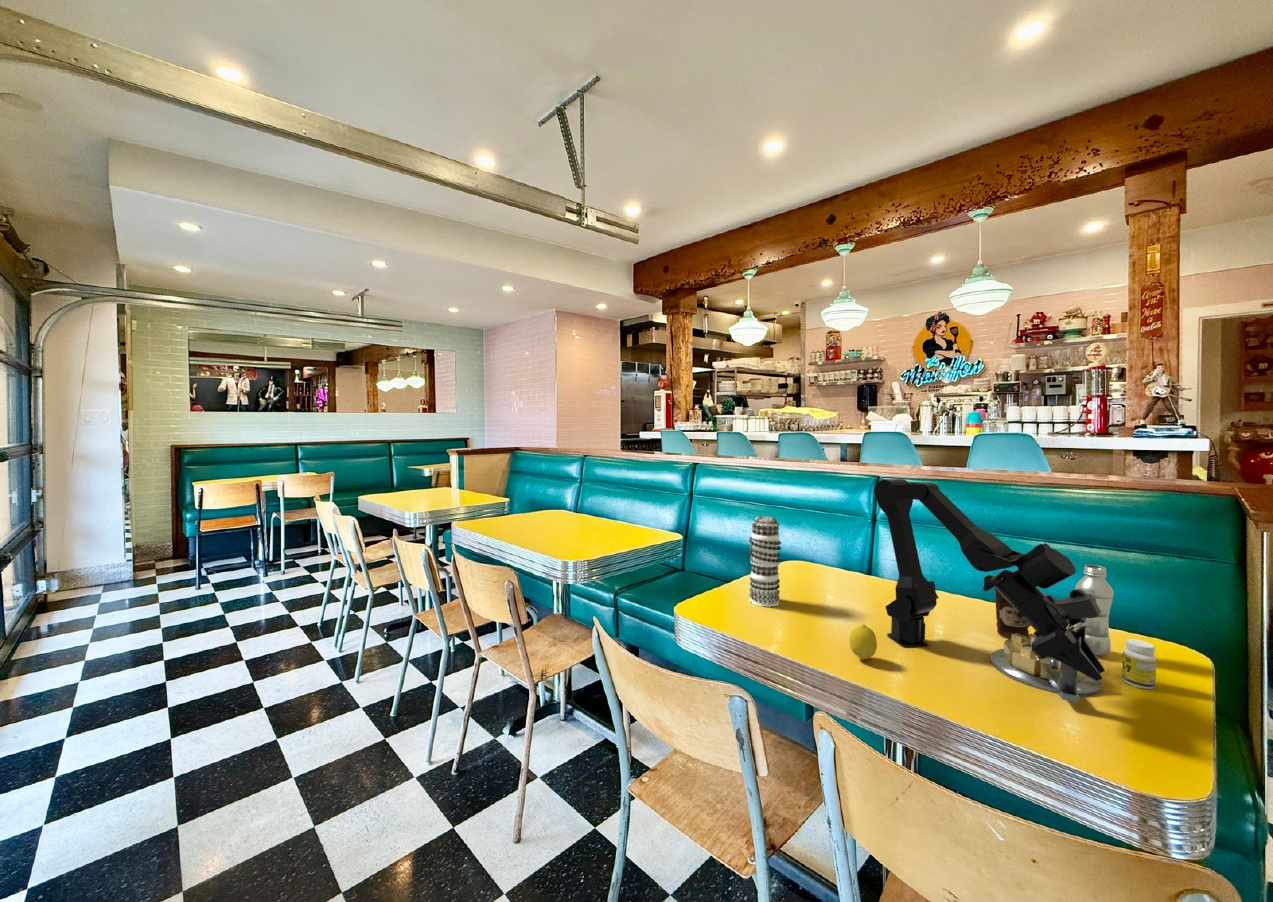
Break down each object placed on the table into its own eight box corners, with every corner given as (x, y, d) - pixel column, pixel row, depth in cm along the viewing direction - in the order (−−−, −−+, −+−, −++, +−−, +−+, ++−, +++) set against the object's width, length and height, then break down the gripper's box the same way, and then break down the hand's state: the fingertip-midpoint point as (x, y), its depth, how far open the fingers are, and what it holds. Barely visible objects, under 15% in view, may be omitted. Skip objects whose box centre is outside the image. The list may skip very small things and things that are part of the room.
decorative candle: (744, 603, 144) (744, 518, 143) (754, 594, 152) (755, 514, 151) (775, 609, 139) (776, 522, 138) (784, 599, 147) (785, 516, 146)
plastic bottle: (1100, 648, 115) (1104, 564, 114) (1117, 661, 109) (1122, 572, 108) (1066, 644, 117) (1070, 561, 116) (1081, 657, 111) (1085, 569, 110)
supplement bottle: (1118, 675, 103) (1120, 635, 102) (1149, 681, 101) (1151, 640, 100) (1126, 685, 99) (1128, 644, 98) (1159, 692, 96) (1161, 650, 96)
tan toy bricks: (998, 646, 113) (1000, 606, 112) (1071, 658, 107) (1073, 615, 107) (1026, 694, 93) (1028, 645, 92) (1117, 711, 87) (1120, 659, 87)
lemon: (874, 668, 106) (875, 631, 105) (847, 661, 109) (848, 626, 108) (877, 657, 111) (878, 623, 110) (851, 651, 113) (852, 617, 113)
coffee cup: (1043, 645, 117) (1045, 591, 116) (1003, 642, 118) (1005, 589, 118) (1022, 630, 125) (1024, 580, 125) (985, 627, 127) (987, 578, 126)
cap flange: (1043, 697, 94) (1045, 662, 94) (970, 654, 112) (972, 624, 112) (1127, 692, 96) (1129, 657, 96) (1043, 650, 114) (1044, 621, 114)
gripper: (1058, 587, 86) (1145, 673, 78) (1074, 568, 98) (1151, 640, 90) (1001, 618, 92) (1076, 701, 84) (1023, 596, 104) (1090, 666, 97)
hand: (1101, 675), depth 89 cm, fingers open, 4 cm apart
